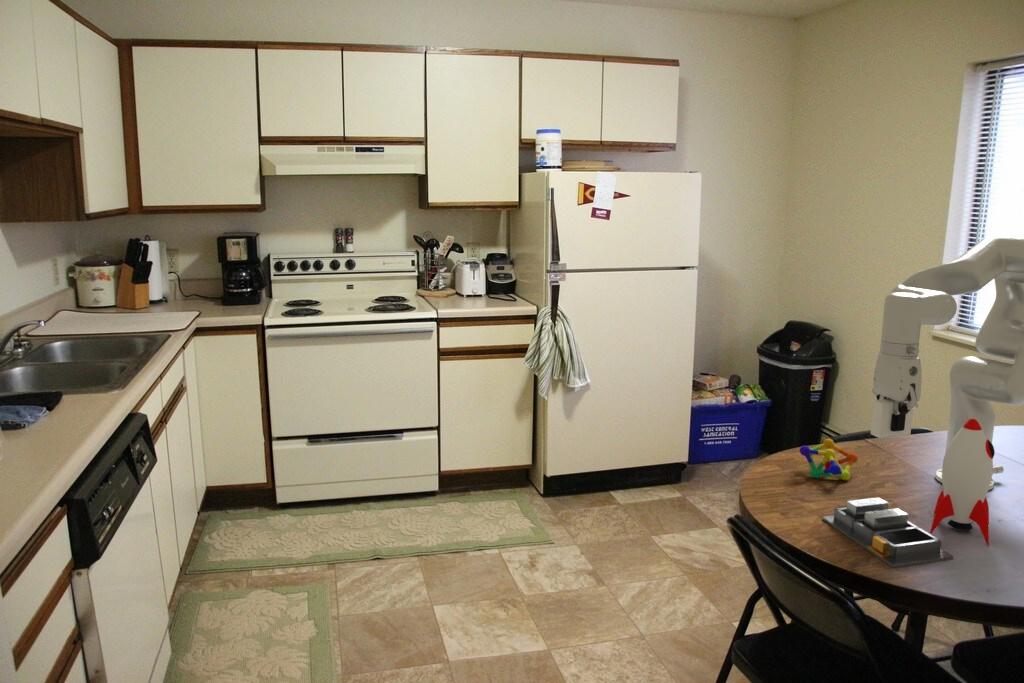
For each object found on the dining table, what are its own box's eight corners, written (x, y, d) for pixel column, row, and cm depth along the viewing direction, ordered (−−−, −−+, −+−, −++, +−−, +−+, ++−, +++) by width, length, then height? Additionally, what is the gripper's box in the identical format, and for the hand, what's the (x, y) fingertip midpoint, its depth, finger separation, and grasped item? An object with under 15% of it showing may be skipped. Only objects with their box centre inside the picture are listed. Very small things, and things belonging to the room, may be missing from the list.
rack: (876, 512, 171) (879, 489, 169) (953, 559, 150) (956, 532, 148) (822, 519, 167) (824, 495, 166) (892, 567, 146) (895, 541, 145)
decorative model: (871, 462, 190) (839, 459, 181) (855, 491, 192) (822, 490, 184) (829, 435, 200) (797, 432, 191) (814, 463, 202) (781, 461, 193)
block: (900, 430, 173) (904, 397, 171) (910, 435, 170) (913, 401, 168) (870, 434, 171) (873, 400, 170) (879, 438, 168) (882, 404, 167)
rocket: (988, 546, 155) (1004, 430, 149) (929, 534, 160) (943, 421, 155) (989, 525, 164) (1004, 415, 159) (933, 514, 169) (946, 408, 164)
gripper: (942, 355, 159) (932, 438, 163) (887, 340, 175) (880, 415, 179) (911, 358, 158) (903, 441, 162) (859, 342, 173) (853, 418, 177)
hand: (891, 427), depth 170 cm, fingers closed on block, 3 cm apart
